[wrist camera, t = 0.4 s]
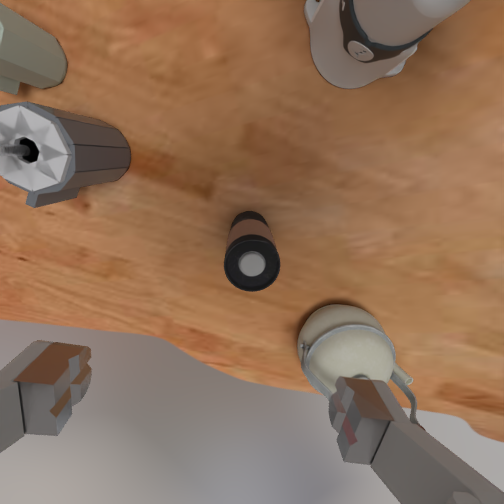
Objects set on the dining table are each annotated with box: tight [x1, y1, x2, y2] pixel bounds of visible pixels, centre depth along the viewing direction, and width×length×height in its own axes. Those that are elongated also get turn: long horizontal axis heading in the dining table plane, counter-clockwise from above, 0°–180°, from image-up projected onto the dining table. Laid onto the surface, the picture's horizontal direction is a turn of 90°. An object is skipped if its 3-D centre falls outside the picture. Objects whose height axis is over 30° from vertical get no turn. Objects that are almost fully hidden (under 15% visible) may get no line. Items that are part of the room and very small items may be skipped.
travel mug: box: [224, 211, 280, 292], centre depth 45 cm, size 8×8×20 cm
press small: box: [0, 3, 67, 95], centre depth 38 cm, size 10×8×14 cm
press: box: [0, 102, 131, 208], centre depth 41 cm, size 13×11×18 cm
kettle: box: [297, 304, 425, 430], centre depth 52 cm, size 25×18×25 cm
